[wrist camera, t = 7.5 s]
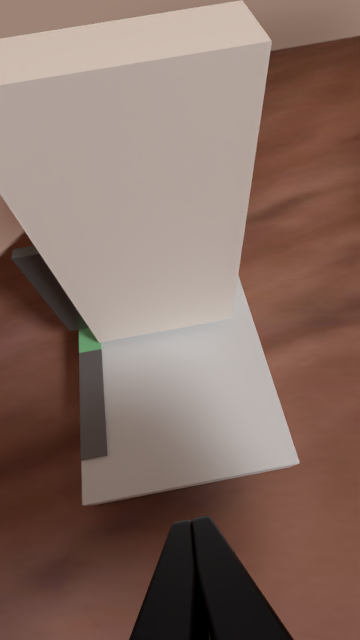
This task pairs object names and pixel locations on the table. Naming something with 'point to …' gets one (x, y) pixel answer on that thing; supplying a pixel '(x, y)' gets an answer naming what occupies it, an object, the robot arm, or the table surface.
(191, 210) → the cream upright slab
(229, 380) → the base
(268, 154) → the table surface
